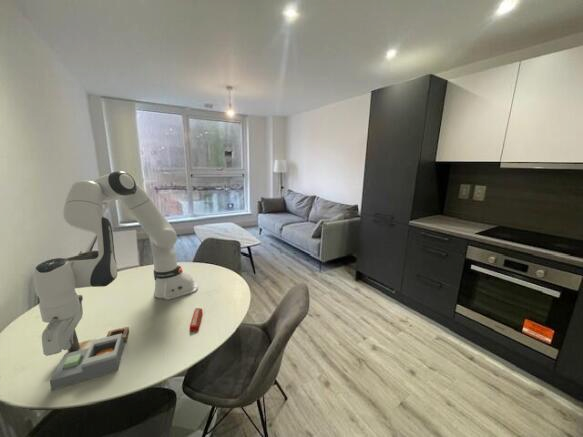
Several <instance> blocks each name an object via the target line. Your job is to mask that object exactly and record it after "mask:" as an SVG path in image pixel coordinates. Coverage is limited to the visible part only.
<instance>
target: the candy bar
mask: <svg viewBox="0 0 583 437" xmlns="http://www.w3.org/2000/svg"><path fill="white" fill-rule="evenodd" d="M202 313H203V309H202V308H199V307H196V308H195V309H194V311H193V315H192V318H191V322H190V323H189V324H190V325H189V330H190V331H194V332H197V331H198V330H199V327H200V326H199V325H200V324H201V323H200V321H201V318H202Z"/></svg>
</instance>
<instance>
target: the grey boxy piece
mask: <svg viewBox="0 0 583 437" xmlns="http://www.w3.org/2000/svg"><path fill="white" fill-rule="evenodd" d="M106 348H113V349H114V351H112V352H109V353H105V354H101V355H98V356H96V354H97V353H98V352H100V351H101V350H103V349H106ZM124 349H125V343H124V342H123V335H122V333H121V334H117V335H113V336H109V337H102V338H98V339H97V338H96V340H93V341H92V342H91V345H90V347H89V348H87V349H83V350H79V351H75V352H71V353H67V354H65V353H64V355H63V356H62V358H61V360H60V362H59V363H58V365H57V367H56V368H55V370H54V373H53V374H52V376H51V378H50V379H49V386H50V389H51V391H54V390H57V389H60V388H64V387H67V386H71V385H74V384H77V383H79V382H80V383H81V382H84V381H86V380H91V379H93V378H97V377H100V376H103V375H106V374H110V373H114V372H117V371H119V370H120V366H121V365H120V364H121V362H122V357H123V352H124ZM77 354H82V361H81V363H80V365H77V366H74V367H70V368H67V369H64V363H65V361H66V359H67V357H70V356H73V355H77Z"/></svg>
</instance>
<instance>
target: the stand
mask: <svg viewBox="0 0 583 437" xmlns="http://www.w3.org/2000/svg"><path fill="white" fill-rule="evenodd" d="M121 333H122V335H123V342H124V344H125V343H127V342H128V337H129V334H130V329H129V326H124V327H121V328H116V329H112V330H111V329H110V330H108V331H107V335H106V337H109V336H113V335H117V334H121Z"/></svg>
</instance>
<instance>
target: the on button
mask: <svg viewBox="0 0 583 437" xmlns="http://www.w3.org/2000/svg"><path fill="white" fill-rule="evenodd" d="M81 361H82V354H77V355H73V356H70V357H67V359H66V361H65V363H64V369H67V368H70V367H74V366H77V365H80V363H81Z"/></svg>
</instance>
